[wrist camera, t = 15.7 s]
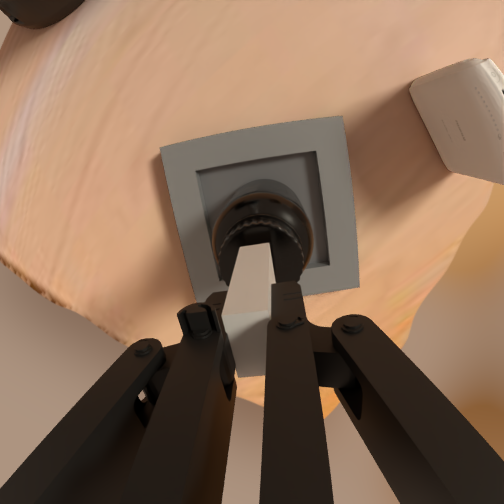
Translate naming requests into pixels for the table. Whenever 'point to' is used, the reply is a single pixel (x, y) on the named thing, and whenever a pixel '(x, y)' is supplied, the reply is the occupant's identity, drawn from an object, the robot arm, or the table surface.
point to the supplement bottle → (264, 229)
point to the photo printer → (465, 116)
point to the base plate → (275, 168)
